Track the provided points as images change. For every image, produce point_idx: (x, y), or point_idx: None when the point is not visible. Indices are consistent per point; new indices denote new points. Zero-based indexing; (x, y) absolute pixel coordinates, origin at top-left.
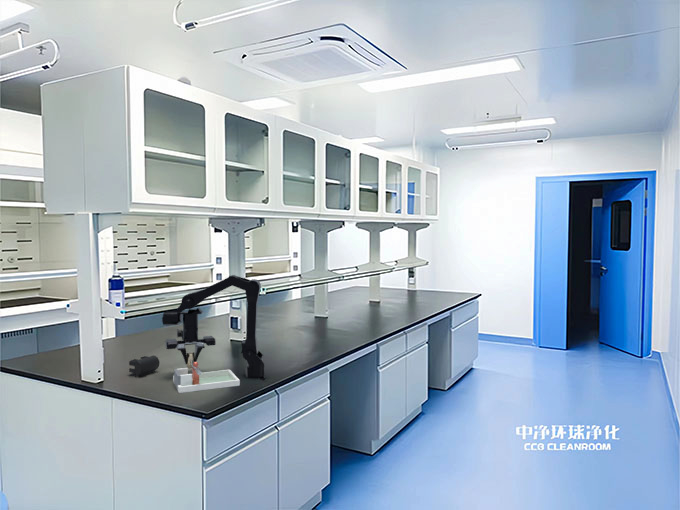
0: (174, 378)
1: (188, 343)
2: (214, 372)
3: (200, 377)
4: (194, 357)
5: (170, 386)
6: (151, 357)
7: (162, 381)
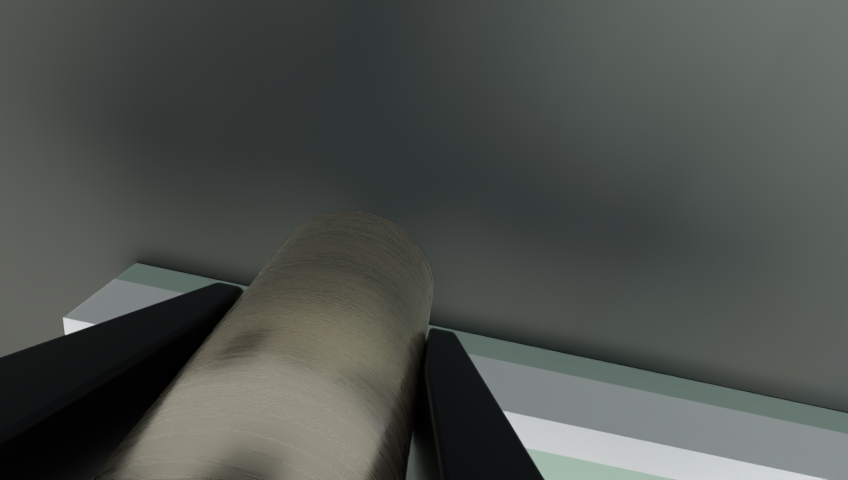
0: None
1: None
2: (673, 471)
3: None
4: (421, 438)
5: None
6: None
7: (4, 97)
